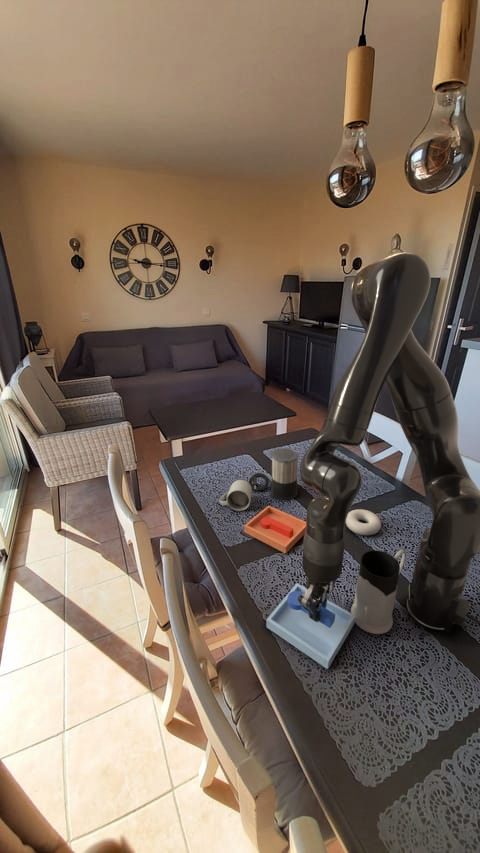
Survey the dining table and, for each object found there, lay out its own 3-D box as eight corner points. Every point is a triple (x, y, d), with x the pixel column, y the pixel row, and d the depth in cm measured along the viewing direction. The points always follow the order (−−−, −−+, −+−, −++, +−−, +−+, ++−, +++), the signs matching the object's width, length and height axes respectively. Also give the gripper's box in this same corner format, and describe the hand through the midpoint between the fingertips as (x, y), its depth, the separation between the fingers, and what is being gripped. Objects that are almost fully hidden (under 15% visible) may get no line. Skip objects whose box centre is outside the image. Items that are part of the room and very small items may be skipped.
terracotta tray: (308, 529, 106) (309, 523, 105) (285, 553, 97) (285, 546, 96) (268, 511, 114) (268, 505, 113) (244, 532, 106) (244, 525, 105)
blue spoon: (336, 618, 75) (337, 611, 74) (327, 631, 72) (328, 624, 71) (293, 592, 81) (294, 585, 80) (284, 603, 78) (284, 596, 77)
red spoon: (295, 532, 104) (295, 526, 103) (287, 540, 101) (288, 533, 100) (265, 519, 110) (265, 513, 109) (258, 525, 107) (258, 519, 107)
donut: (345, 536, 103) (382, 539, 101) (346, 526, 102) (384, 529, 100) (343, 514, 112) (377, 517, 110) (344, 505, 111) (378, 508, 109)
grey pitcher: (342, 612, 80) (348, 560, 74) (380, 581, 88) (388, 532, 82) (377, 641, 74) (386, 587, 68) (414, 605, 81) (426, 554, 75)
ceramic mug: (252, 496, 122) (251, 477, 119) (250, 511, 115) (249, 491, 112) (221, 496, 123) (220, 476, 120) (217, 510, 116) (216, 490, 113)
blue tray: (354, 623, 78) (355, 615, 77) (327, 669, 69) (328, 661, 68) (296, 590, 86) (296, 582, 85) (266, 627, 77) (266, 619, 76)
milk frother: (302, 497, 121) (303, 458, 115) (256, 505, 117) (256, 465, 112) (287, 476, 133) (287, 440, 128) (245, 483, 130) (244, 446, 124)
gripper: (323, 582, 61) (317, 650, 68) (357, 538, 71) (348, 602, 78) (286, 561, 66) (283, 627, 73) (323, 523, 75) (317, 584, 82)
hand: (317, 614), depth 75 cm, fingers closed on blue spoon, 2 cm apart
